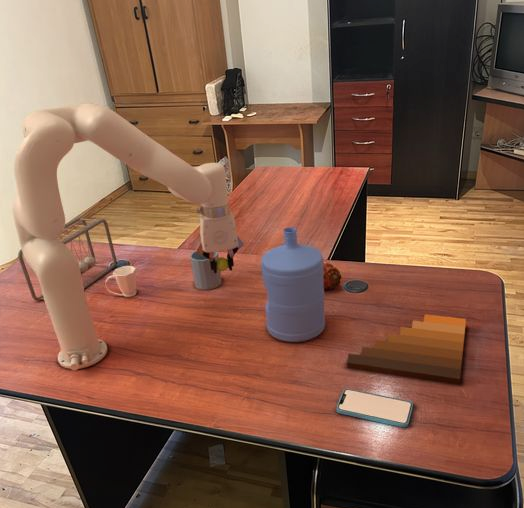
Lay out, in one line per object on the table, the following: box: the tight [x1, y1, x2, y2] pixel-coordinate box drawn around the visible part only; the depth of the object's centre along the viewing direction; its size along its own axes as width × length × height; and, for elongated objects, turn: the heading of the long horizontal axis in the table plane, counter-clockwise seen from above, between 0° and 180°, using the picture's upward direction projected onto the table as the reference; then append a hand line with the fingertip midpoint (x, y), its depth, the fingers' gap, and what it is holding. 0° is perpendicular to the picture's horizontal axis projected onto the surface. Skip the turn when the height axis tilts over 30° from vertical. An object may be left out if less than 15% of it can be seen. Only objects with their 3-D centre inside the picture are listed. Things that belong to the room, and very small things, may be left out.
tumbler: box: [189, 248, 223, 291], centre depth 169 cm, size 9×9×10 cm
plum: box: [216, 256, 229, 272], centre depth 158 cm, size 4×4×4 cm
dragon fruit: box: [323, 262, 342, 290], centre depth 162 cm, size 8×8×12 cm
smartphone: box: [336, 388, 414, 428], centre depth 116 cm, size 8×1×15 cm
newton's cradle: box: [17, 216, 118, 302], centre depth 175 cm, size 30×10×18 cm, turn 156°
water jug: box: [260, 226, 326, 343], centre depth 139 cm, size 16×16×28 cm
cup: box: [105, 265, 138, 298], centre depth 168 cm, size 7×10×8 cm
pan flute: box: [346, 314, 467, 385], centre depth 133 cm, size 25×3×25 cm
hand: (222, 269), depth 159 cm, fingers closed on plum, 3 cm apart
